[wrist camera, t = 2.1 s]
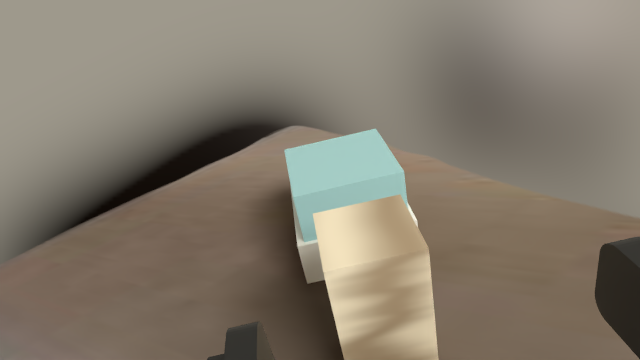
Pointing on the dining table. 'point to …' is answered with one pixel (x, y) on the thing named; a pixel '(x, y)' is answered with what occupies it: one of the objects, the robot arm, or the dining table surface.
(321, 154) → the tower top
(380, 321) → the birch post
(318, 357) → the dining table surface
